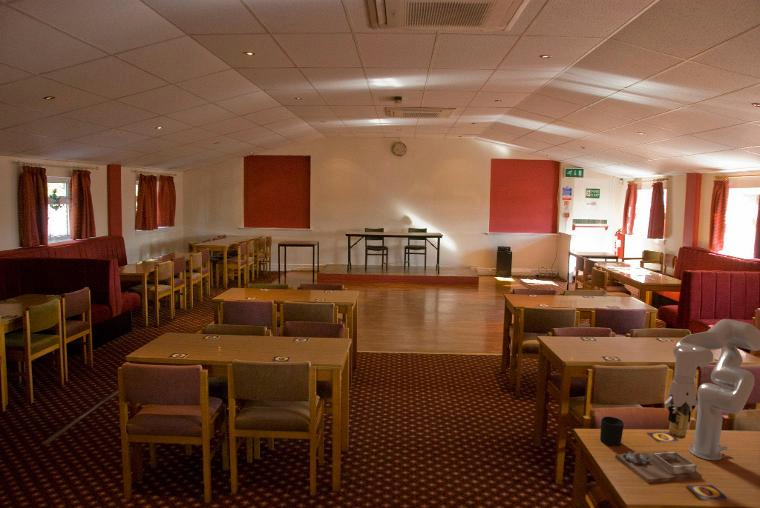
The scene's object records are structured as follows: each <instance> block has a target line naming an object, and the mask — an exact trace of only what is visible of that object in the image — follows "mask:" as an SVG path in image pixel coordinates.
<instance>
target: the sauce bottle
mask: <svg viewBox="0 0 760 508" xmlns="http://www.w3.org/2000/svg"><path fill="white" fill-rule="evenodd" d="M688 394H689V393H688V392H687V393H686V395H688ZM686 402H687V401H686ZM686 402H685V403H684V404H683V405H682V406H681V407H678V408H677V410H676V412H675V413H676V422H675V423H673V422H671V421H669V426H668V433H669V434H668V435H669V436H671V437H673V438H675V439H681V440H682V439H685V438H686V435H687V430H688V425H689V424H688V423H689V422H688V419H689V411H690V407H689V405H688V404H687V403H686ZM673 408H674V406H673ZM673 408H672V409H673Z"/></svg>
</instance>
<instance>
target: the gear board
mask: <svg viewBox="0 0 760 508" xmlns="http://www.w3.org/2000/svg"><path fill="white" fill-rule="evenodd" d="M614 457H615V459H616V460H618V461H619V462H620V463H621V464H622V465H624V466H625V467H626V466H627V467H626V468H628V469H629V470H630V471H631V470H632V471H631V472H633V473H634V474H636V475H637V476H638V477H639V478H641V479H642V480H643V481H644V482H645V483H647V484H649V483H651V484H652V483H663V482H672V481H673V482H675V481H685V480H699V479H702V477H703V474H702V473H700V472H698V471H697V464H696V463H694V462H693V461H691V460H690V459H689V458H687V457H685V456H683V455H682V454H681V453H679V452H677V451H666V450H662V451H661V450H660V451H649V452H648V451H647V452H638V451H634V452H632V451H627V452H624V453H621V454H619V453H618V454H615V456H614Z"/></svg>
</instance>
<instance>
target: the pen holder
mask: <svg viewBox="0 0 760 508" xmlns="http://www.w3.org/2000/svg"><path fill="white" fill-rule="evenodd" d="M624 426H625V424H624V422H623V420H622V419H620V418H617V417H613V416H604V417H602V418H601V422H600V438H599V440H600V441H601V443H603V444H605V445H607V446H609V447H618V446H620V445H621V443H622V439H623V433H624V432H623V431H624Z"/></svg>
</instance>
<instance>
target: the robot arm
mask: <svg viewBox="0 0 760 508" xmlns="http://www.w3.org/2000/svg"><path fill="white" fill-rule="evenodd" d="M738 348H741V349H745V350H749V351H756V352H757V351H758V352H759V351H760V329H758V328H757V327H755V326H754V325H753V324H751V323H748V322H744V321H740V320H735V319H730V318H723V319H722V318H721V320H718V321H717V322H716V323H715V324H713V325H712V326H711V327H710V328H709V329H708V330H707V331H702V332H697V333H692V334H687V335H686V336H684V337H682V338H681V339H680V340H678V342H677V343H675V344H674V347H673V352H672V353H673V356H674V357H675V362H674V363H675V364H674V374H673V379H672V380H671V381H670V384H669V388H668V391H667V395H666V396H667V397H666V401H664V402H663V405H664V407H666V410H667V411H668V421H669V422H670V421H671V422H673V423H675V422H676V413H675V412H676V410H677V408H678V407H681V406H682V405H683V404H684V403H685V402H686V401H687V402H686V403H687V404H688V405H689V407H690V411H689V419H688V423H690V422H691V416H692V413H693V411H694V410H695V409H696V407H697V415H696V424H695V431H694V439H693V444H691V445H689V447H688V452H690V453H691V455H693V456H695V457H698V458H700V459H703V460H707V461H715V462H716V461H720V460H722V458H723V455H722V453H721V452H722V451H728V446H727V445H720V444H721V443H720V441H721V435H722V427H723V426H722V425H723V414H722V412H721V411H723V412H726V413H729V414H733V415H738V414H740V413H741V412H742V411H743V409H744V408H745V405H746V403H747V402H748V399H749V397H750V395H751V393H752V391H753V389H754V385H755V376H754V374H753V373H752V372H751V371H749V370H747V369H743V368H741V366H742V364H743V361H744V360H743V357H742V354H741V353H740V351H739V349H738ZM720 349H721V350H720ZM714 350H716V351H717V350H720V351H721V353H720V355H719V357H718V359H717V362H716V364H715V365H714V367H713V369H712V371H711V374H710V379H711V381H712V382H713V383H710V382H704V383H701V384H700V385H699V387H698V389H697V386H696V379H697V374H696V373H697V368H698V367H707V366H709V365H711V364H712V362H713V360H714V353H713V352H712V351H714ZM687 392H688V393H689V394H688V395H686V393H687ZM696 397H697V399H696ZM673 406H674V408H673ZM672 408H673V409H672Z"/></svg>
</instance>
